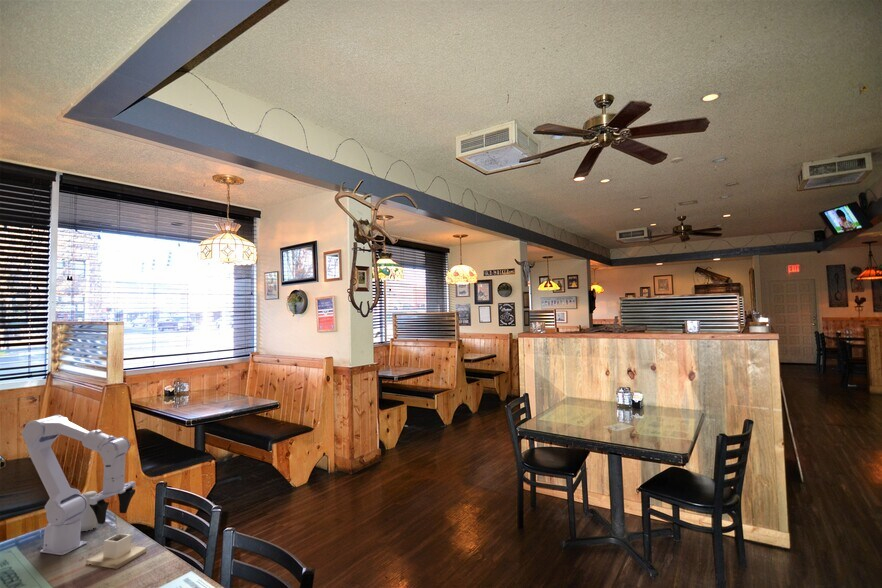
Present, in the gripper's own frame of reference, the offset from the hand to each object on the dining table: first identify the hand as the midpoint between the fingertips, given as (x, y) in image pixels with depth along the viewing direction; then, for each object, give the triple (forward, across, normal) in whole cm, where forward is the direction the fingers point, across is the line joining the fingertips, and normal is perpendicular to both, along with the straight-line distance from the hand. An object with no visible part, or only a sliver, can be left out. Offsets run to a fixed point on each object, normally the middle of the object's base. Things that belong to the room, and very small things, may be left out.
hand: (112, 517), depth 144 cm
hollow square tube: (+9, -4, -7) cm, 12 cm away
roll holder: (+10, -4, -7) cm, 13 cm away
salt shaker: (+10, +9, +21) cm, 25 cm away
